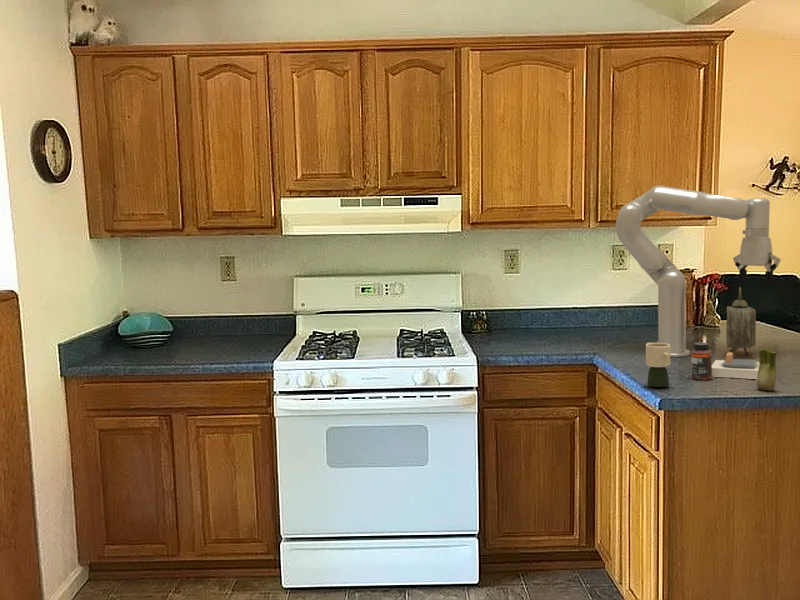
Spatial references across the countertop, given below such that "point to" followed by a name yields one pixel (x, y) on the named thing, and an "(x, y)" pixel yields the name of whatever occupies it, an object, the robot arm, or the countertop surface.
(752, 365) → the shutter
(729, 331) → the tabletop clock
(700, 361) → the supplement bottle
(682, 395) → the countertop surface
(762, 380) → the fennel bulb
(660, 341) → the robot arm
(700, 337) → the countertop surface
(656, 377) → the character mug
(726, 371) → the socket block
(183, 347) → the countertop surface
